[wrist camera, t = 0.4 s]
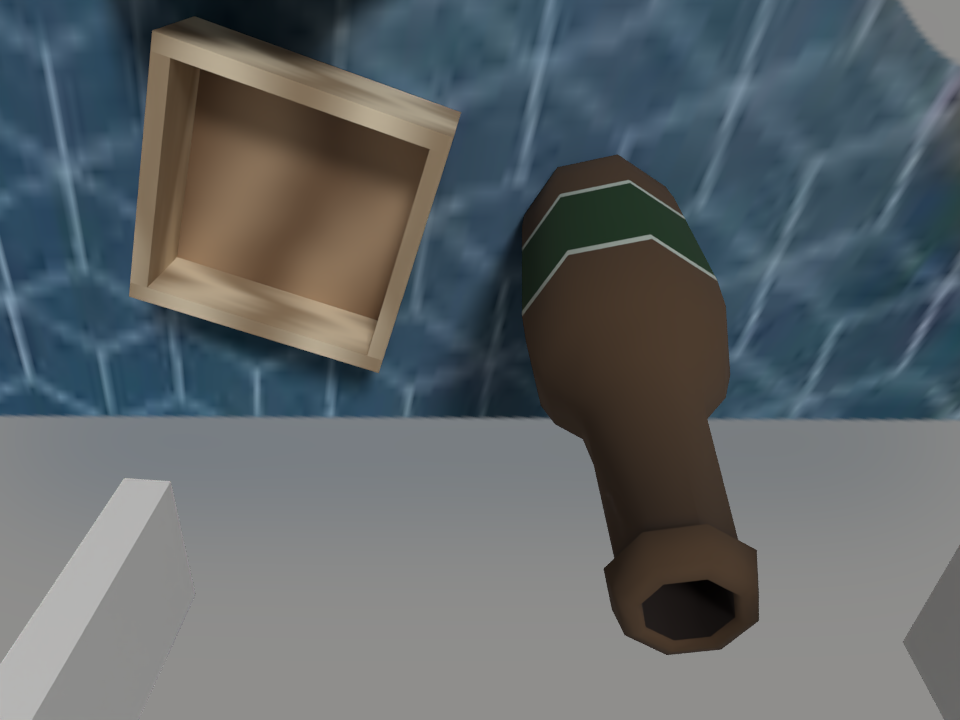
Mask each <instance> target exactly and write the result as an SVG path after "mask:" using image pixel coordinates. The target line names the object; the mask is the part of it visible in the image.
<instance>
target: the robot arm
mask: <svg viewBox="0 0 960 720" xmlns="http://www.w3.org/2000/svg"><path fill="white" fill-rule="evenodd" d="M195 594H196V593H195V589H194V584H193V579H192V575H191V570H190V566H189V561H188V557H187V553H186V548H185V543H184V539H183V534H182V530H181V525H180V521H179V516H178V512H177V508H176V503H175V498H174V494H173V489H172V485H171V481H158V480H157V481H156V480H143V479H127V478H124V479H123V481H122V482H121V484H120V485H119V487H118V488H117V490H116V491H115V493H114V494H113V496H112V497H111V499H110V500H109V502H108V503H107V505H106V506H105V508H104V509H103V511H102V512H101V514H100V515H99V517H98V518H97V520H96V521H95V523H94V524H93V526H92V527H91V529H90V530H89V532H88V533H87V535H86V536H85V538H84V539H83V541H82V543H81V544H80V545H79V547H78V548H77V550H76V551H75V553H74V555H73V556H72V557H71V559H70V560H69V562H68V563H67V565H66V566H65V568H64V569H63V571H62V572H61V574H60V575H59V577H58V578H57V580H56V581H55V583H54V584H53V586H52V588H51V589H50V590H49V592H48V593H47V595H46V596H45V598H44V599H43V601H42V602H41V604H40V605H39V607H38V608H37V610H36V611H35V613H34V614H33V616H32V617H31V619H30V620H29V622H28V623H27V625H26V626H25V628H24V629H23V631H22V632H21V634H20V636H19V637H18V638H17V640H16V641H15V643H14V644H13V646H12V647H11V649H10V650H9V652H8V653H7V655H6V657H5V658H4V659H3V661H2V662H1V664H0V720H139V718H140V716H141V714H142V712H143V709H144V707H145V705H146V703H147V700H148V698H149V696H150V694H151V692H152V689H153V687H154V685H155V683H156V680H157V678H158V676H159V674H160V672H161V669H162V667H163V665H164V663H165V661H166V658H167V656H168V654H169V652H170V649H171V647H172V645H173V643H174V641H175V639H176V636H177V634H178V632H179V629H180V627H181V625H182V623H183V621H184V619H185V616H186V614H187V612H188V610H189V608H190V605H191V603H192V601H193V599H194V596H195ZM903 643H904V645H905V647H906V649H907V651H908V652H909V654H910V656H911V658H912V660H913V662H914V664H915V665H916V667H917V669H918V671H919V673H920V675H921V677H922V679H923V681H924V682H925V684H926V686H927V688H928V690H929V692H930V694H931V696H932V698H933V699H934V701H935V703H936V705H937V707H938V709H939V711H940V713H941V714H942V716H943V718H944V720H960V545H959V547H958V549H957V551H956V552H955V554H954V556H953V557H952V559H951V561H950V562H949V564H948V566H947V568H946V570H945V571H944V573H943V575H942V576H941V578H940V580H939V581H938V583H937V585H936V586H935V588H934V590H933V591H932V593H931V595H930V597H929V599H928V600H927V602H926V603H925V605H924V607H923V609H922V610H921V612H920V614H919V615H918V617H917V619H916V621H915V622H914V624H913V626H912V627H911V629H910V631H909V632H908V634H907V636H906V637H905V639H904V641H903Z"/></svg>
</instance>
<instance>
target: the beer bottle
mask: <svg viewBox="0 0 960 720" xmlns="http://www.w3.org/2000/svg"><path fill="white" fill-rule="evenodd" d="M522 318H523V325H524V331H525V338H526V343H527V347H528V352H529V356H530V360H531V365H532V369H533V373H534V378H535V382H536V386H537V391H538V395H539V399H540V404H541V406H542V408H543V409H544V410H545V412H546V413H547V414H548V416H549V417H550V418H551V419H552V421H553V422H554V423H555V424H556V425H558V426H560V427H561V428H563V429H565V430H567V431H569V432H571V433H572V434H575V435H576V436H578V437H580V438H582V439H583V440H584V443H585V445H586V448H587V450H588V452H589V455H590V457H591V459H592V462H593V464H594V468H595V472H596V477H597V482H598V486H599V491H600V495H601V500H602V504H603V509H604V513H605V518H606V522H607V527H608V531H609V536H610V541H611V545H612V550H613V554H614V559H613V560H612V561H611V562H610V563H609V564H608V565H607V566H606V567H605V568H604V573H605V578H606V583H607V588H608V592H609V597H610V602H611V607H612V610H613V612H614V614H615V616H616V618H617V620H618V622H619V624H620V626H621V628H622V630H623V632H624V634H625V635H626V636H628V637H630V638H632V639H634V640H636V641H639V642H641V643H643V644H645V645H647V646H649V647H651V648H653V649H655V650H658V651H660V652H662V653H664V654H666V655H671V654H681V653H691V652H700V651H710V650H720V649H722V648H723V647H725V646H726V645H727V644H729V643H730V642H731V641H733V640H734V639H735V638H737V637H738V636H739V635H741V634H742V633H743V632H745V631H746V630H747V629H748V628H750V627H751V626H752V625H754V624H755V623H756V622H758V621H759V591H758V590H759V589H758V571H757V550H755V549H754V548H752V547H750V546H748V545H746V544H744V543H742V542H741V541H739V540H738V538H737V534H736V530H735V526H734V522H733V518H732V514H731V510H730V506H729V502H728V499H727V495H726V491H725V487H724V483H723V479H722V475H721V471H720V467H719V463H718V459H717V456H716V452H715V448H714V444H713V440H712V436H711V432H710V428H709V424H708V420H707V419H708V417H709V416H710V415H711V414H712V413H713V412H714V410H715V409H716V408H717V407H718V406H719V405H720V403H721V402H722V401H723V400H724V399H725V398H726V393H727V388H728V383H729V378H730V366H729V350H728V335H727V319H726V306H725V303H724V300H723V297H722V294H721V291H720V287H719V284H718V281H717V279H716V277H715V275H714V274H713V272H712V270H711V268H710V266H709V264H708V262H707V260H706V258H705V256H704V254H703V253H702V251H701V249H700V247H699V245H698V243H697V241H696V239H695V237H694V235H693V233H692V232H691V230H690V228H689V226H688V224H687V222H686V220H685V218H684V216H683V214H682V212H681V210H680V209H679V207H678V205H677V203H676V201H675V199H674V197H673V196H672V195H671V193H670V192H669V191H668V189H667V188H666V187H665V186H664V185H662V184H661V183H659V182H658V181H656V180H655V179H653V178H652V177H650V176H649V175H647V174H646V173H644V172H643V171H641V170H640V169H638V168H637V167H635V166H634V165H632V164H631V163H629V162H628V161H626V160H625V159H623V158H622V157H621V156H619V155H613V156H609V157H604V158H599V159H595V160H590V161H585V162H580V163H576V164H571V165H566V166H562V167H557V169H556V170H555V172H554V173H553V174H552V176H551V177H550V179H549V180H548V182H547V183H546V185H545V186H544V187H543V189H542V190H541V192H540V193H539V195H538V196H537V198H536V199H535V200H534V202H533V203H532V205H531V206H530V208H529V209H528V211H527V212H526V213H525V215H524V219H523V225H522Z"/></svg>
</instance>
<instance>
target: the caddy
mask: <svg viewBox="0 0 960 720" xmlns="http://www.w3.org/2000/svg"><path fill="white" fill-rule="evenodd" d="M460 114H461V112H458V111H456V110H453V109H450V108H447V107H444V106H442V105H439V104H436V103H433V102H431V101H428V100H425V99H422V98H420V97H417V96H414V95H411V94H408V93H406V92H403V91H400V90H397V89H395V88H392V87H389V86H386V85H384V84H381V83H378V82H375V81H373V80H370V79H367V78H364V77H361V76H359V75H356V74H353V73H350V72H348V71H345V70H342V69H339V68H337V67H334V66H331V65H328V64H325V63H323V62H320V61H317V60H314V59H312V58H309V57H306V56H303V55H301V54H298V53H295V52H292V51H289V50H287V49H284V48H281V47H278V46H276V45H273V44H270V43H267V42H265V41H262V40H259V39H256V38H253V37H251V36H248V35H245V34H242V33H240V32H237V31H234V30H231V29H229V28H226V27H223V26H220V25H218V24H215V23H212V22H209V21H206V20H204V19H201V18H198V17H195V16H194V17H191V18H188V19H185V20H182V21H179V22H176V23H173V24H170V25H167V26H164V27H161V28H158V29H155V30H152V39H151V51H150V62H149V74H148V85H147V97H146V109H145V120H144V132H143V143H142V155H141V166H140V178H139V189H138V201H137V212H136V224H135V235H134V247H133V258H132V270H131V281H130V293H129V297H133V298H136V299H139V300H142V301H146V302H149V303H152V304H155V305H159V306H162V307H165V308H168V309H172V310H175V311H178V312H182V313H185V314H188V315H191V316H195V317H198V318H201V319H204V320H208V321H211V322H214V323H217V324H221V325H224V326H227V327H230V328H234V329H237V330H240V331H244V332H247V333H250V334H253V335H257V336H260V337H263V338H266V339H270V340H273V341H276V342H279V343H283V344H286V345H289V346H292V347H296V348H299V349H302V350H305V351H309V352H312V353H315V354H319V355H322V356H325V357H328V358H332V359H335V360H338V361H341V362H345V363H348V364H351V365H354V366H358V367H361V368H364V369H367V370H371V371H374V372H377V373H379V370H380V367H381V364H382V360H383V357H384V354H385V351H386V348H387V345H388V342H389V338H390V335H391V332H392V329H393V326H394V323H395V320H396V317H397V313H398V310H399V307H400V304H401V301H402V298H403V295H404V291H405V288H406V285H407V282H408V279H409V276H410V273H411V269H412V266H413V263H414V260H415V257H416V254H417V251H418V247H419V244H420V241H421V238H422V235H423V232H424V229H425V225H426V222H427V219H428V216H429V213H430V210H431V207H432V203H433V200H434V197H435V194H436V191H437V188H438V185H439V182H440V178H441V175H442V172H443V169H444V166H445V163H446V160H447V156H448V153H449V150H450V147H451V144H452V141H453V138H454V134H455V131H456V127H457V124H458V121H459V117H460Z"/></svg>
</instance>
